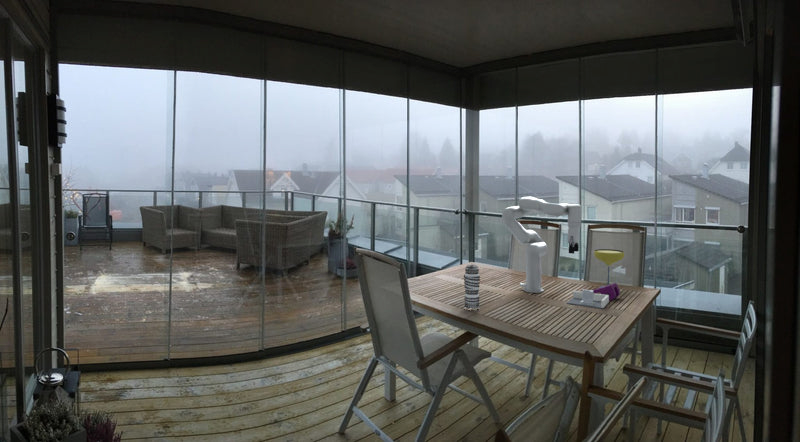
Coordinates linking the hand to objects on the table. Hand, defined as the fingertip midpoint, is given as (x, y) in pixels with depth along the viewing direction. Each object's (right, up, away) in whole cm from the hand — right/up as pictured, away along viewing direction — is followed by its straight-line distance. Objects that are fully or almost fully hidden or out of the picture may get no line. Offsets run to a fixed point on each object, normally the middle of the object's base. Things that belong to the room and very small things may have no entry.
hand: (573, 252), depth 283 cm
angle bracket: (+3, -29, -13) cm, 32 cm away
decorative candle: (-66, -31, -20) cm, 75 cm away
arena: (+4, -29, -11) cm, 32 cm away
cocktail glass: (+33, -26, +26) cm, 49 cm away
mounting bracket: (+18, -29, +2) cm, 34 cm away
